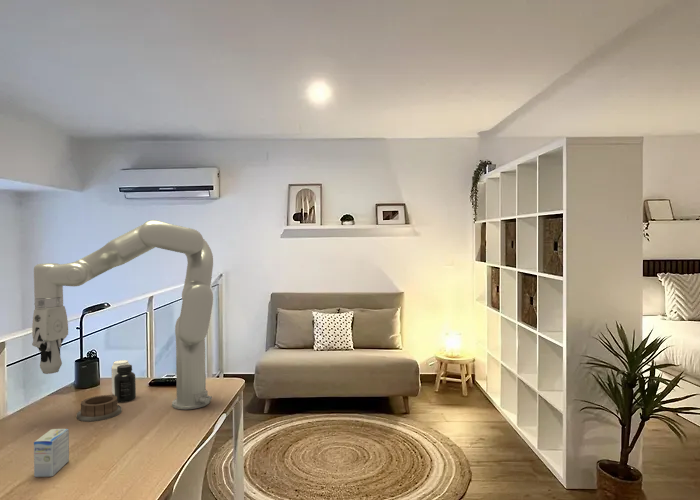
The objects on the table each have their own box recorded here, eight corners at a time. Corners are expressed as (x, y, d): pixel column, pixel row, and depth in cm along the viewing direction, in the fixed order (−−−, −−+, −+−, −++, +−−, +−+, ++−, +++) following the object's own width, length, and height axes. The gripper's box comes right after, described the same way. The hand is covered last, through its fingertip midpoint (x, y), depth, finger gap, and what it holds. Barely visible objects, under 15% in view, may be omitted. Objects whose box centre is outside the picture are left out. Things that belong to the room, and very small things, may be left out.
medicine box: (51, 462, 122) (50, 428, 122) (69, 461, 123) (69, 428, 123) (33, 477, 114) (32, 441, 114) (53, 476, 115) (52, 440, 115)
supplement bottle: (139, 396, 174) (139, 363, 174) (129, 403, 167) (128, 368, 167) (121, 396, 175) (121, 363, 174) (110, 402, 168) (109, 368, 168)
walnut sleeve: (129, 411, 159) (129, 397, 159) (91, 424, 148) (90, 409, 148) (107, 404, 166) (106, 391, 166) (68, 416, 155) (67, 402, 154)
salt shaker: (66, 370, 151) (65, 329, 151) (49, 375, 146) (48, 332, 146) (52, 369, 153) (51, 328, 153) (35, 373, 148) (34, 331, 147)
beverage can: (118, 391, 181) (118, 359, 180) (134, 391, 180) (133, 359, 180) (108, 396, 174) (107, 363, 174) (124, 397, 174) (123, 364, 173)
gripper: (40, 307, 140) (42, 369, 141) (78, 300, 157) (79, 356, 157) (16, 307, 141) (18, 369, 142) (57, 300, 158) (58, 355, 158)
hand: (50, 361), depth 149 cm, fingers closed on salt shaker, 3 cm apart
